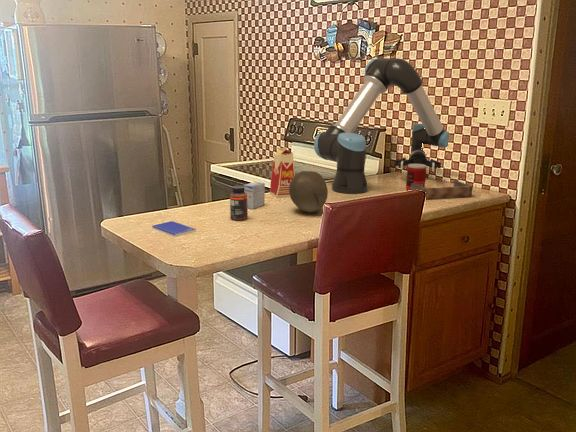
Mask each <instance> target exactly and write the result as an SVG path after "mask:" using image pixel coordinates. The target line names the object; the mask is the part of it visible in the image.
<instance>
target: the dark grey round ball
mask: <svg viewBox="0 0 576 432" xmlns="http://www.w3.org/2000/svg"><path fill="white" fill-rule="evenodd" d="M328 190H329V188H328V185H327V182H326V180H325V178H323V176H322V175H321V174H320V173H318V172H317V171H308V170H302V171H299V172H297V173H296V174H295V176H294V177H293V178H292V180H291V182H290V185H289V193H290V197H289V198H290V199H291V201H292V203H293V204H294V205H295V206H296V207H297V209H299V210H301V211H303V212H306V213H309V214H314V213H316V212H318V211H320V210H322V209H323V207H324V206H325V205H324V203H325V204H326V203H327V199H328V195H329V194H328V193H329V192H328ZM323 205H324V206H323Z"/></svg>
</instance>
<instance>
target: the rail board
mask: <svg viewBox="0 0 576 432" xmlns="http://www.w3.org/2000/svg"><path fill="white" fill-rule="evenodd" d="M414 189H418V190H422V191H424V192H426V200H425V201H429V200H431V201H432V200H445V199H446V200H447V199H463V198H472V196H473V186H472V185H469V184H467V183H464V182H461V181H460V180H454V183H453V186H444V187H443V186H441V187H426V186H425V187H422V186H420V185H418V184H415V183H411V190H414Z"/></svg>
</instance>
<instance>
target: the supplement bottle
mask: <svg viewBox="0 0 576 432" xmlns="http://www.w3.org/2000/svg"><path fill="white" fill-rule="evenodd" d="M248 210H249V209H248V208H247V193H245V192H244V185H233V186H232V191H231V193H230V194H229V212H230V213H229V214H230V216H229V217H230V219H231V220H232V221H237V222H238V221H245V220H247V219H248V217H249V216H248V213H249V212H248Z"/></svg>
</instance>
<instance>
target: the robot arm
mask: <svg viewBox="0 0 576 432" xmlns="http://www.w3.org/2000/svg"><path fill="white" fill-rule="evenodd" d="M363 74H364V77H363V84H362V85H361V86H360V88H359V90H358V91H357V93H356V94H355V96H354V97H353V99H352V100H351V101H350V103H349V104H348V105H347V107H346V108H345V110H344V111H343V113H342V114H341V115H340V117H339V119H338V120H337V121H336V123H335V124H330V125H329V126H328V127H327V129H326V131H322V132H319V133H318V134H317V135H316V136H315V139H314V141H313V146H314V148H313V149H314V151H315V154H316V155H317V157H319V158H321V159H324V160H325V161H331V162H336V171H335V175H334V178H333V181H332V183H331V190H332V191H334V192H337V193H340V194H341V193H342V194H362V193H363V194H364V193H366V192H368V186H369V185H368V181H367V178H366V174H365V167H366V166H365V165H366V152H367V150H366V149H367V140H366V138H365V137H364V135H361V134H358V133H354V132H355V130H356V129H357V128H358V126H359V125H360V123H361V122H362V120H363V119H364V117H365V116H366V115H367V114H368V112H369V111H370V110H371V108H372V106H373V105H374V103H375V102H376V101H377V99H378V98H379V96H380V95H382V94H385V93H386V92H387V91H388V89H389V88H390V87H392V86H393V87H397V88H399V89H400V91H401V92H402V94H403V95H406V97H407V98H408V100H409V102H410V104H411V106H412V107H413V109H414V111H415V113H416V115H417V117H418V119H419V121H420V123H422V124H415V123H413V125H412V130H411V146H410V155H411V156H410V155H409V156H410V157H409V158H408V159H407V157H402V158H399V159H396V160H394V167H398V169H400V170H401V171H402V170H403V168H404V167H406V166H407V167H408V164H424V165H426V167H429V168H431V171H432V172H435V170H436V169H441V167H442V162H440V161H438V160H435V159H433V158H430V159H429V160H428V159H427V154H425V152H424V151H423V150H421V147H422V143H423V144H428V145H427V146H434V147H437V146H438V147H439V148H446V147H447V146H448V142H449V141H448V140H449V132H450V131H448V130H446V129H445V128H444V126H443V124H442V121H440V118H439V116H438V114H437V112H436V110H435V108H434V107H433V104H432V102H431V100H430V98H429V97H428V95H427V93H426V91H425V89H424V87H423V79H422V77H421V76H420V74H419V73H418V71H417V70H416V69H415V67H414V66H413V65H412V64H411V63H410V62H409V61H407V60H406V59H403V58H400V57H399V58H396V57H395V58H393V57H388V58H387V57H377V58H374V59H371V60H370V61H369V62H368V63H367V64H366V66H365V68H364V73H363ZM424 128H425V129H424ZM447 131H448V132H447ZM447 148H448V147H447Z"/></svg>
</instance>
